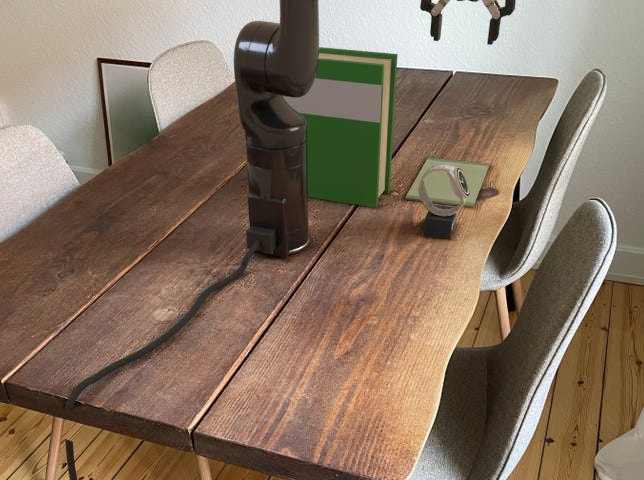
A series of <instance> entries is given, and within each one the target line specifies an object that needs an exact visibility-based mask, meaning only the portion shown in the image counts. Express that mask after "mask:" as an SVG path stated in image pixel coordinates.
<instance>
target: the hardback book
mask: <svg viewBox="0 0 644 480" xmlns="http://www.w3.org/2000/svg"><path fill="white" fill-rule="evenodd" d="M397 70H398V53H390V52H379V51H370V50H369V51H367V50H356V49H345V48H336V47H335V48H334V47H323V46H319V62H318V69H317V74H316V78H315V81H314V83H313V85H312V87H311V89H310V90H309V92H308V93H307V94H305V95H304V96H302V97H298V98H294V97H286V96H283V98H284V99H285V101H286V102H287V103H288V104H289V105H290V106H291V107H292V108H293V109H295V110H296V111H297V112H299V113H300V114H301V115H302V116H303V117H304V118H305V120H306V122H307V138H308V198H314V199H320V200H325V201H332V202H339V203H343V204H348V205H349V204H350V205H357V206H362V207H367V208H373V209H376V208H378V207H379V197H380V196H381V195H382V194H388V195H389V194H390V192H391V181H392V180H391V179H392V160H393V144H394V143H393V142H394V124H395V108H396V90H397V89H396V88H397V86H396V85H397V73H398V71H397Z"/></svg>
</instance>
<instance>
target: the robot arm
mask: <svg viewBox="0 0 644 480" xmlns="http://www.w3.org/2000/svg"><path fill="white" fill-rule="evenodd" d="M463 1H465V0H456V2H463ZM468 1H469V2H473V3H477V2H479V1H480V0H468ZM504 1H505V2H504V6H501V5H500V3H499V1H498V0H481V2H482V4H483V6H484V7H485V8H486V9H487V10H488V13H489V14H490V16H491V18H490V19H489V25H488V33H487V34H488V35H487V40H486V41H487V44H486V45H487V46H488V45H489V46H490V45H493V44H494V42H496V41H497V40H498V38H499V36H500V29H501V22H502V18H504V17H508V16H511V15H513V13H514V12H515V10H516V1H517V0H504ZM450 2H451V0H438V1H437V3H434V2H433V0H420V5H419V8H420V10H421V11H422V12H426V13H428V14H430V30H429V32H430V33H429V34H430V38H433V39H432V40H433V41H434V42H439V41H440V40H441V37H442V25H443V13H442V11H443V10H444V9H445V7H447V5H448V4H449V3H450ZM319 6H320V2H319V0H279V22H273V21H267V20H252V21H250V22H248V23H246V24H244V26H243V27H242V28H240V30H239V32H238V34H237V37H236V39H235V44H234V47H233V48H234V50H233V75H234V83H235V92H236V100H237V109H238V115H239V116H238V117H239V120H240V123H241V126H242V128H243V130H244V136H245V149H246V151H245V152H246V167H247V168H246V169H247V182H248V183H247V184H248V185H247V186H248V196H247V208H248V224H249V227H248V228H247V229H246V231H245V236H246V237H245V238H246V249H248V250H247V252H246V253H245V254H244V256H243V258H242V262H241V264H240V266H239V267H238V268H237V270H235V271H234V272H233V273H232V274H230V275H229V276H227V277H226V278H223V279H221V280H219V281H217V282H214V283H213V284H212V285H210V286H209V287H207V288H206V289H205V290H204V291H203V292H202V293H200V295H199V296H198V298H197V299H196V301H195V302H194V304H193V305H192V307H191V309H190V310H188V312H187V313H186V314H185V315H184V316H183V317H182V318H181V319H180V320H179V321H178V322H177V323H175V325H173V326H172V327H171V328H170V329H168V330H167V331H166V332H165V333H164V334H162V335H161V336H159V337H157V339H155V340H153V341H152V342H150V343H149V344H147V345H145V346H144V347H142V348H141V349H139V350H137V351H135V352H133V353H130V354H129V355H127V356H124V357H122V358H120V359H118V360H116V361H114V362H113V363H111V364H108V365H107V366H105V367H103V368H102V369H101V370H99V371H98V372H96V373H94V374H93V375H91V376H89V377H87V378H85V379H82V381H80V382H79V383H78V384H76V386H75V387H74V388H73V390H72V391H71V392H70V394H69V396H68V398H67V400H66V402H65V405H64V410H65V411H69V410H70V411H71V410H72V409H73V408H74V406H75V403H76V401H77V399H78V398H79V396H80V395H81V393H82V392H83V391H84V390H85V389H87V388H88V387H89V386H91V385H93V384H95V383H97V381H100V380H101V379H103V378H104V377H106V376H107V375H109V374H111V373H113V372H114V371H116V370H118V369H119V368H121V367H124V366H125V365H127V364H130V363H132V362H134V361H136V360H138V359H140V358H142V357H144V356H146V355H147V354H149V353H151V352H152V351H154V350H155V349H157V348H158V347H160V346H161V345H163V344H164V343H165V342H167V341H168V340H170V339H171V338H172V337H174V336H175V335H176V334H177V333H179V331H180V330H182V328H184V327H185V326H186V325H187V324H188V323H189V322H190V321H191V320H192V319H193V317H195V315H196V314H197V312H199V310H200V308H201V307H202V305H203V303H205V301H206V300H207V299H208V297H209V296H210V295H211V294H212V293H214V292H215V291H216V290H218V289H220V288H222V287H224V286H227V285H228V284H230V283H232V282H234V281H235V280H237V279H239V277H241V275H242V274H243V273H244V272H245V271H246V269H247V267H248V266H249V265H248V264H249V262H250V259H251V258H252V257H253V255H254V253H257V254H262V255H267V256H273V257H277V258H283V259H286V258H287V257H289V256H290V255H294V254H297V253H300V252H302V251H303V250H305V249H306V248H308V246H309V245H310V232H309V228H310V225H309V224H310V223H309V197H308V138H307V122H306V120H305V118H304V117H303V116H302V115H301V114H300V113H299V112H297V111H296V110H295V109H293V108H292V107H291V106H290V105H289V104H288V103H287V102H286V101H285V99H284V98H283V96H286V97H294V98H298V97H302V96H304V95H305V94H307V93H308V92H309V90H310V89H311V87H312V85H313V83H314V81H315V78H316V74H317V69H318V62H319V47H320V7H319ZM64 443H65V456H66V462H67V471H68V478H69V480H78V477H77V476H78V475H77V470H76V469H77V468H76V461H75V449H74V441H73V440H70V439H66V438H64Z"/></svg>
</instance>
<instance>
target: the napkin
mask: <svg viewBox="0 0 644 480" xmlns="http://www.w3.org/2000/svg"><path fill="white" fill-rule="evenodd" d="M437 164H450V165H453V166H455V167H456V168H457V167H459V168H460V169H461V170H462V171H463V173H464V175H465V177H466V179H467V182H468V185H469V190H470V195H469V197H467V198H466V201H465V204H464V206H463V207H464V208H474V206H475V203H476V201H477V198H478V196H479V194H480V190H481V188H482V185H483V182H484V180H485V178H486V175H487V172H488V170H489V167H490V163H486V162H475V161H466V160H456V159H448V158H447V159H446V158H437V157H427V158H426V160H425V162H424V163H423V165H422V167H421V169H420V170H419V172H418V174H417V176H416V177H415V178H414V179H415V180H414V181H413V183H412V184H411V187H410V188H409V190H408V191H407V194H406V196H405V197H404V200H405V201H406V200H407V201H415V202H422V201H421V199H420V196H419V192H418V188H419V183H420V180H421V178H422V176H423V174H424V173H425V172H426V170H428V169H429V168H430V167H432V166H435V165H437ZM423 181H425V187H426V191H427V193H428V195H429V197H430V199H431V201H432V204H437V205H438V204H439V205H446V206H448V205H449V206H454V207H456V206H458V205H459V204H460V203H461V201H460V199H459V198H458V197H457V196H456V195H455V193H454V191H453V189H452V187H451V183H450V178H449V176H448V175H447V172H446V171H444V170H443V171H435V172H432V173H430V174H428V175H427V176H426V177H425V178H424V180H423ZM463 207H462V208H463Z"/></svg>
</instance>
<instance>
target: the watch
mask: <svg viewBox="0 0 644 480" xmlns="http://www.w3.org/2000/svg"><path fill="white" fill-rule="evenodd" d="M443 170H444V171H446V172H447V175H448V176H449V178H450V183H451V187H452V189H453V191H454V193H455V195H456V196H457V197H458V198H459V199H460V201H461V203H460V204H459V205H458V206H448V205H440V204H439V205H438V204H434V203H432V201H431V199H430V197H429V195H428V193H427V191H426V187H425V181H423V180H424V178H425V177H426V176H427V175H428V174H430V173H432V172H435V171H443ZM418 192H419V196H420V199H421V201H420V202H421V203H422V205H423V207H424V208H425V210H426V211H427V212H426V214H425V217H424V223H423V234H422V235H423V237H425V238H426V237H427V238H434V239H435V238H436V239H443V240H451V237H452V235H453V232H454V229H455V226H456V222H457V221H456V219H457V213H458V212H460V211H461V210H462V209H463V206H464V204H465V201H466V198H467V197H469V195H470V190H469V185H468V182H467V179H466V177H465V175H464V173H463V171H462V170H461V169H460V168H459V167H457V168H456V167H455V166H453V165H450V164H437V165H435V166H432V167H430V168H429V169H428V170H426V172H425V173H424V174H423V176H422V178H421V180H420V183H419V188H418Z"/></svg>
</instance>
